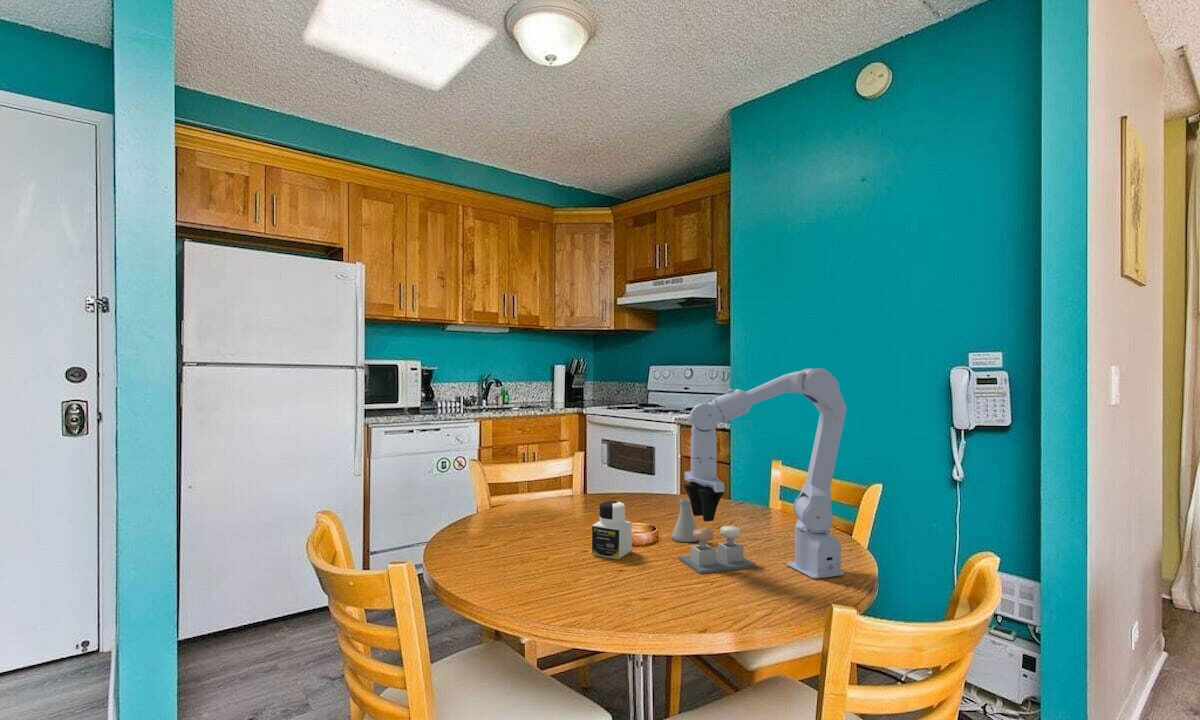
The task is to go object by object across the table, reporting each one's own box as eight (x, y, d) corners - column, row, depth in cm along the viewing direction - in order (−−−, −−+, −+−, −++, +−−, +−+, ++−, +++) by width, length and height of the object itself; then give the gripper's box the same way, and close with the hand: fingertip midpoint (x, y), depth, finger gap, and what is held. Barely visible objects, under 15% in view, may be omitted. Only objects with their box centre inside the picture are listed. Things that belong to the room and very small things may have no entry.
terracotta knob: (716, 553, 131) (716, 532, 131) (699, 555, 130) (699, 534, 130) (706, 547, 135) (706, 527, 135) (689, 549, 134) (689, 529, 134)
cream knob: (744, 550, 134) (744, 530, 134) (726, 552, 132) (727, 531, 132) (733, 544, 138) (733, 525, 138) (716, 546, 136) (716, 526, 136)
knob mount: (756, 567, 131) (756, 549, 131) (699, 573, 127) (700, 556, 127) (731, 553, 141) (731, 537, 141) (678, 559, 136) (678, 542, 136)
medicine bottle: (591, 555, 139) (591, 503, 139) (605, 546, 145) (605, 497, 145) (618, 559, 135) (619, 507, 136) (631, 551, 142) (632, 501, 142)
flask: (698, 535, 156) (698, 497, 156) (700, 543, 148) (700, 503, 148) (670, 534, 156) (671, 496, 156) (671, 542, 149) (671, 502, 149)
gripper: (673, 453, 138) (672, 511, 138) (703, 463, 125) (703, 528, 124) (699, 452, 141) (699, 509, 140) (733, 461, 127) (732, 525, 127)
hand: (703, 518), depth 133 cm, fingers open, 4 cm apart
